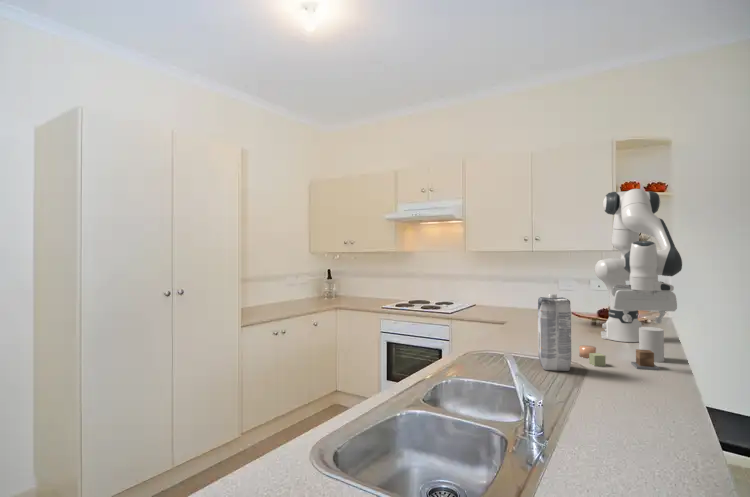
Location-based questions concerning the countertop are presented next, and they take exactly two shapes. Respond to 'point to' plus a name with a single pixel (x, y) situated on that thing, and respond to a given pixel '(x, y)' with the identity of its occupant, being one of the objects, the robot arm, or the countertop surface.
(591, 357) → the olive block
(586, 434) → the countertop surface
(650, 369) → the slate coaster
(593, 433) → the countertop surface
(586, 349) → the peach glossy ball
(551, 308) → the juice carton
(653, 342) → the cup
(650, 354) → the walnut block
